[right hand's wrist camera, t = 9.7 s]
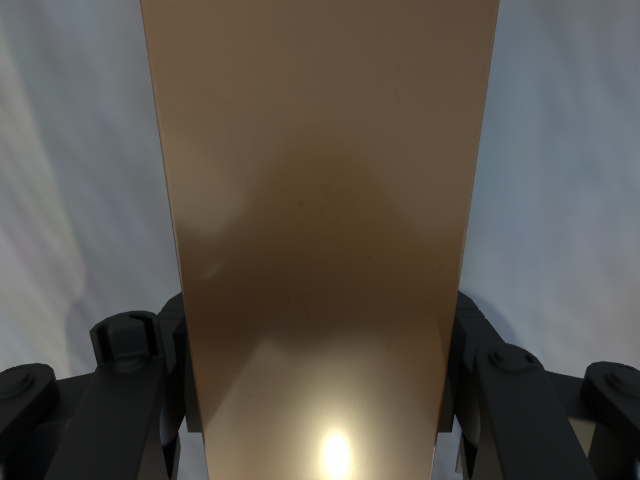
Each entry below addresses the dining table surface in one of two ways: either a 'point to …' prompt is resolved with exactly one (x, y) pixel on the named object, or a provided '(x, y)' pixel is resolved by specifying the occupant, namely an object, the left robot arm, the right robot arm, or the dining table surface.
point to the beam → (319, 221)
